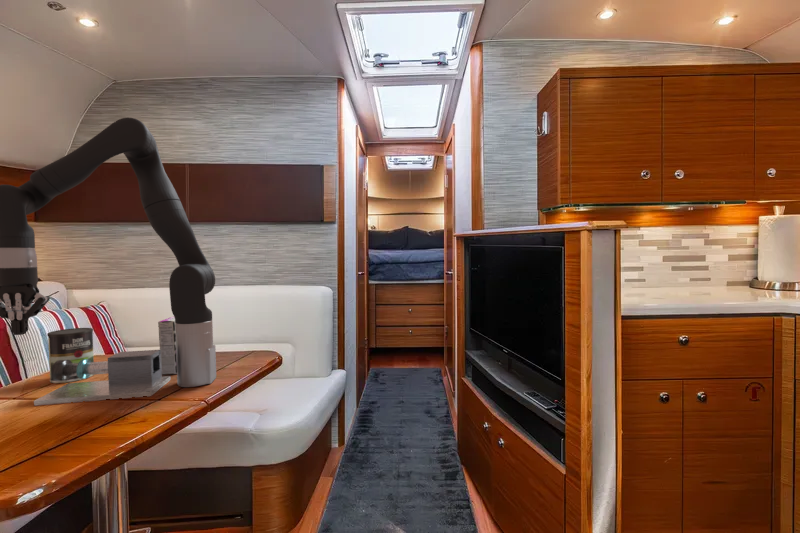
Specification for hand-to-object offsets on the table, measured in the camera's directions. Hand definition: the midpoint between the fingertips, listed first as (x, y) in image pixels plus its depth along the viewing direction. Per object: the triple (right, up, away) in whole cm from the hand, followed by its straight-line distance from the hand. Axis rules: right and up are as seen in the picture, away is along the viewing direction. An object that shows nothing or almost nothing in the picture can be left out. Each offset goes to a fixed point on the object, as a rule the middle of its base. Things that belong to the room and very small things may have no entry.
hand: (19, 334), depth 98 cm
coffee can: (-1, -16, +17) cm, 24 cm away
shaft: (+17, -12, +4) cm, 21 cm away
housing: (+19, -16, +4) cm, 25 cm away
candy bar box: (+26, -15, +23) cm, 38 cm away
